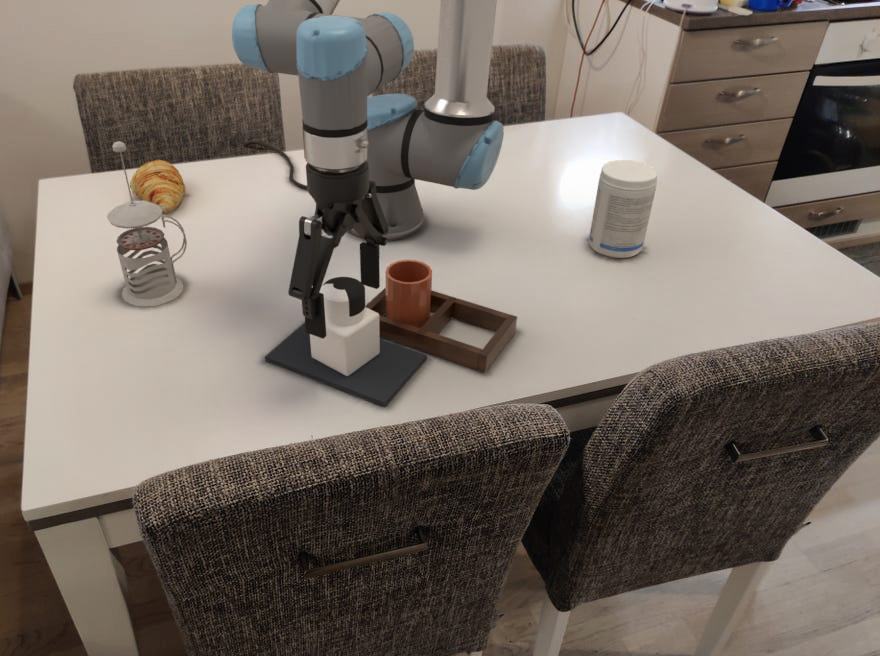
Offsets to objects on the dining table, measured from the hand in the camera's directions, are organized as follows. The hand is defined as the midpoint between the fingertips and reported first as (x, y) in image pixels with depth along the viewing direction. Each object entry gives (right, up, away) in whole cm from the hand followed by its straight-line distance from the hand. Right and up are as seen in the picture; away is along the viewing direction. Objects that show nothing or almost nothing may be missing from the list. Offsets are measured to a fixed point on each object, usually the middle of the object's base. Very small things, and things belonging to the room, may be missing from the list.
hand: (344, 308), depth 99 cm
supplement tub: (+47, +13, +32) cm, 58 cm away
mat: (0, -7, +5) cm, 9 cm away
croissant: (-41, +26, +47) cm, 68 cm away
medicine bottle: (0, -7, +5) cm, 8 cm away
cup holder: (+13, -3, +11) cm, 17 cm away
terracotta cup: (+9, -1, +13) cm, 16 cm away
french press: (-32, +4, +20) cm, 38 cm away
